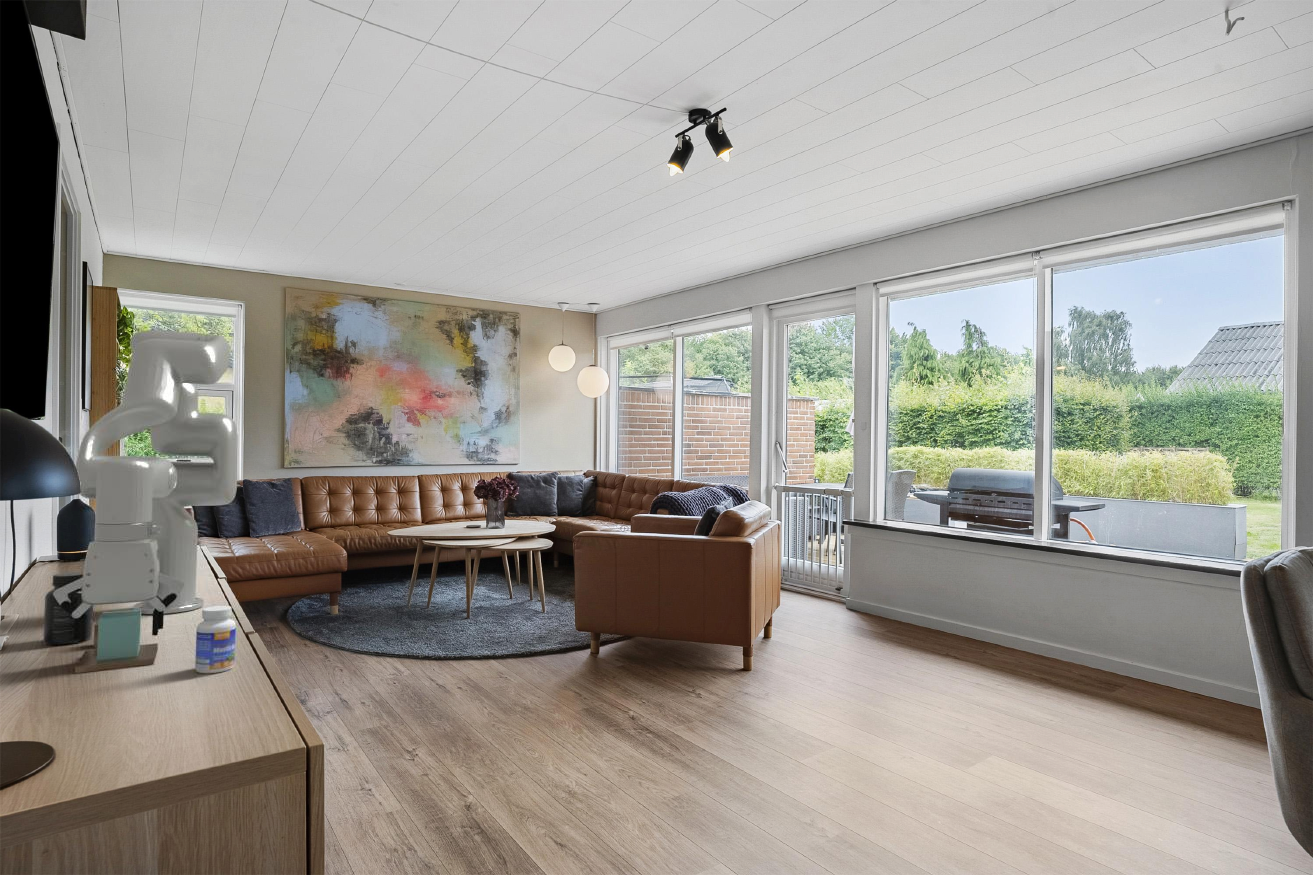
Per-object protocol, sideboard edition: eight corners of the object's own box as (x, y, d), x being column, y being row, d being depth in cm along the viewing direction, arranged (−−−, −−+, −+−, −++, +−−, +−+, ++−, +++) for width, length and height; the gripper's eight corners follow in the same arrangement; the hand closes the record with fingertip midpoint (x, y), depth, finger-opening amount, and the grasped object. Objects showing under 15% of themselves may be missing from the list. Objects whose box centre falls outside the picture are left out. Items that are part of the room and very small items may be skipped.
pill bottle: (215, 675, 111) (218, 612, 112) (186, 672, 112) (188, 610, 113) (242, 665, 117) (244, 605, 117) (214, 662, 118) (216, 603, 118)
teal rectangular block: (101, 652, 119) (102, 612, 119) (139, 648, 121) (141, 609, 121) (97, 660, 114) (98, 619, 114) (137, 656, 117) (138, 615, 117)
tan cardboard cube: (96, 643, 127) (96, 621, 127) (117, 641, 128) (118, 619, 128) (93, 647, 124) (94, 624, 124) (115, 645, 126) (115, 622, 126)
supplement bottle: (102, 636, 131) (104, 571, 132) (68, 646, 125) (70, 578, 125) (68, 634, 132) (70, 569, 132) (32, 644, 125) (34, 576, 125)
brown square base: (85, 656, 119) (86, 614, 119) (157, 648, 125) (159, 608, 125) (75, 673, 111) (76, 627, 111) (153, 664, 116) (155, 621, 116)
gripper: (186, 528, 126) (183, 626, 125) (60, 532, 117) (56, 638, 116) (185, 533, 119) (181, 636, 119) (51, 538, 110) (47, 649, 110)
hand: (119, 637), depth 118 cm, fingers open, 9 cm apart
